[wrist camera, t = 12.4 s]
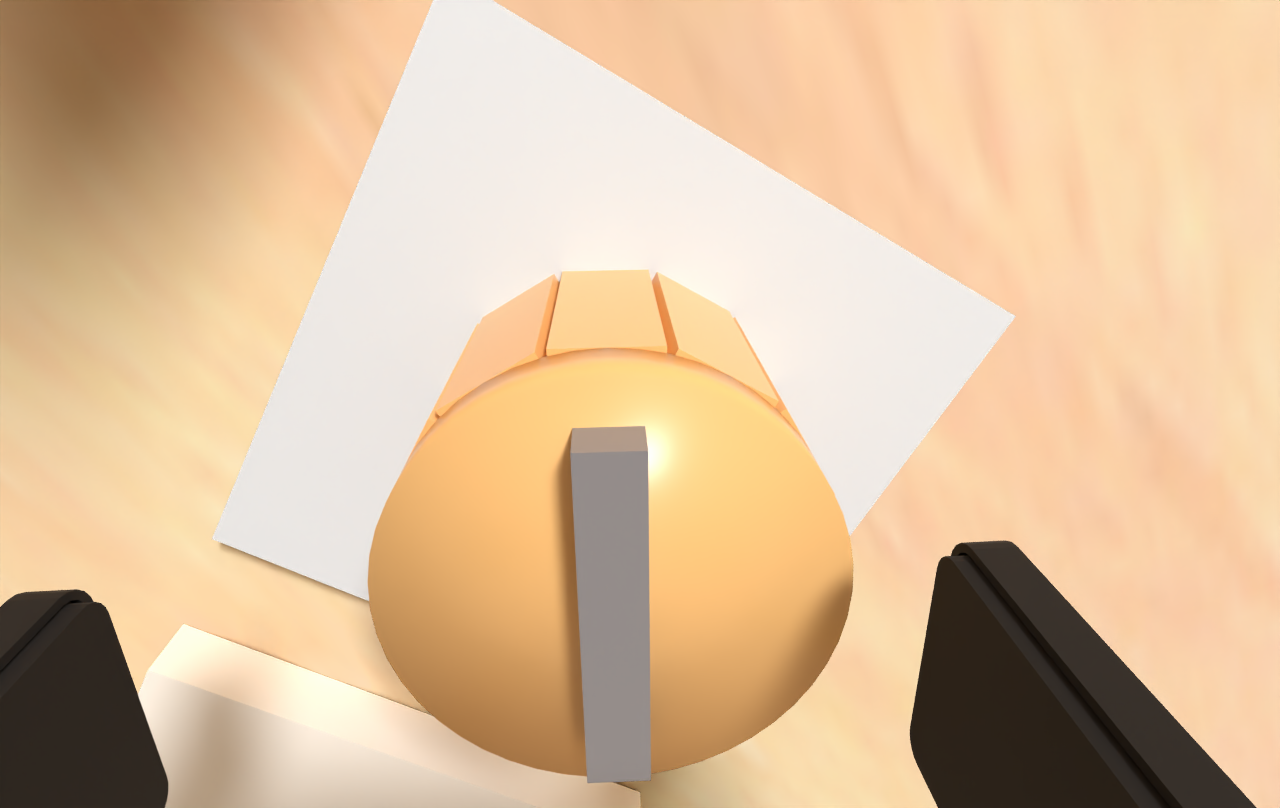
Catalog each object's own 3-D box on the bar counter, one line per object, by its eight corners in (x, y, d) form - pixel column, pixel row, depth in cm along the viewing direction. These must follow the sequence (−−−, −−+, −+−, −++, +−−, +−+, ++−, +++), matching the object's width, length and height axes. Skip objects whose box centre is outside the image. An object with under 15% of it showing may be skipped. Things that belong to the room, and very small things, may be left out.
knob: (426, 273, 14) (308, 404, 9) (781, 266, 14) (898, 387, 9) (462, 573, 17) (390, 828, 11) (763, 563, 17) (845, 806, 11)
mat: (224, 523, 17) (211, 538, 16) (451, -24, 13) (444, -29, 12) (697, 714, 19) (700, 732, 19) (1001, 308, 16) (1015, 316, 15)
